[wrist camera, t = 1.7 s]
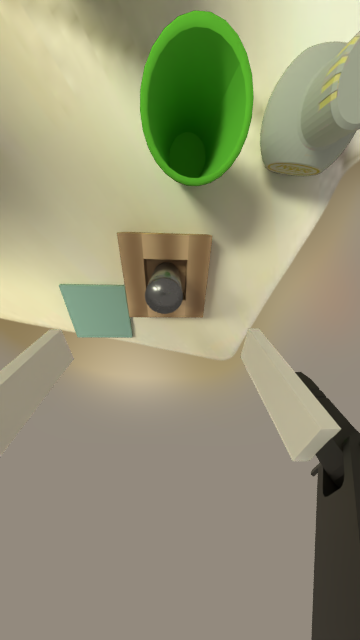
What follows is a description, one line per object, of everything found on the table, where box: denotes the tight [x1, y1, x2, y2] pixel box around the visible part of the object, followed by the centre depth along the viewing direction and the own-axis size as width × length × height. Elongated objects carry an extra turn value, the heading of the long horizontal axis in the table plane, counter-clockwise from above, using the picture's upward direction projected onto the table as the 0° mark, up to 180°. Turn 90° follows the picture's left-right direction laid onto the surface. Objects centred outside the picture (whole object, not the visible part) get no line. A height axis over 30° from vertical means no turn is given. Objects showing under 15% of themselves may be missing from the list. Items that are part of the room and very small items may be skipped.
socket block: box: [117, 232, 212, 317], centre depth 29 cm, size 14×14×4 cm
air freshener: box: [260, 31, 360, 176], centre depth 17 cm, size 11×8×10 cm
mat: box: [59, 284, 133, 337], centre depth 33 cm, size 12×12×1 cm
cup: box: [140, 11, 253, 186], centre depth 18 cm, size 9×9×11 cm
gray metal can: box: [145, 262, 183, 314], centre depth 26 cm, size 5×5×10 cm
